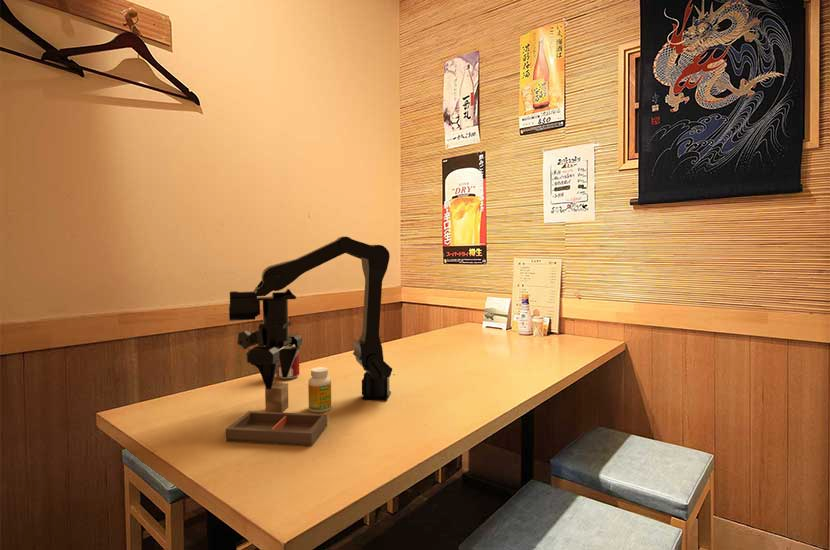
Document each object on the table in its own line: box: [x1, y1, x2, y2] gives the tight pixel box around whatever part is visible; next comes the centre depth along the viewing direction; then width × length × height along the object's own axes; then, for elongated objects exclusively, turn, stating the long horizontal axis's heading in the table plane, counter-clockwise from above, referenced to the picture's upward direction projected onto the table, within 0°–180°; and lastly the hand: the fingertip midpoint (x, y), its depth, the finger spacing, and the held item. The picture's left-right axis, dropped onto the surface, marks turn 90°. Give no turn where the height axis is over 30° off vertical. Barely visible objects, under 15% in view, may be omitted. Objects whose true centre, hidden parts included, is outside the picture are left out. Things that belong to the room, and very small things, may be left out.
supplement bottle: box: [307, 366, 332, 413], centre depth 109 cm, size 5×5×10 cm
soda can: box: [275, 345, 300, 381], centre depth 135 cm, size 7×7×12 cm
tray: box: [225, 410, 328, 447], centre depth 95 cm, size 18×10×3 cm, turn 83°
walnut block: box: [264, 382, 289, 413], centre depth 109 cm, size 4×4×6 cm
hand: (277, 382), depth 108 cm, fingers open, 9 cm apart
